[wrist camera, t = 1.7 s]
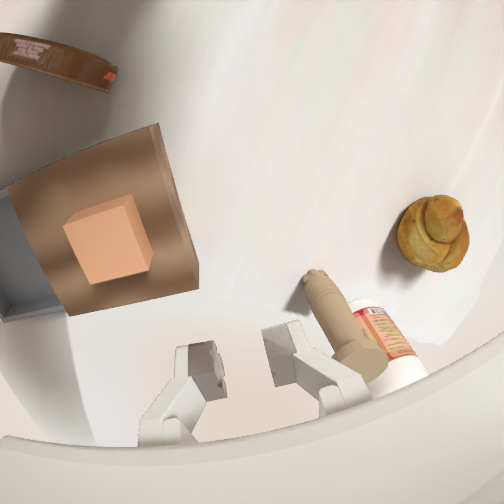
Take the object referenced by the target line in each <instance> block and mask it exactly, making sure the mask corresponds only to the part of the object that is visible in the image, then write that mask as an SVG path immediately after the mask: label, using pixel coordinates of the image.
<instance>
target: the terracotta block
mask: <svg viewBox="0 0 504 504" xmlns="http://www.w3.org/2000/svg"><path fill="white" fill-rule="evenodd" d="M63 228H64V231H65V233H66V235H67V237H68V240H69V242H70V244H71V246H72V248H73V251H74V253H75V255H76V257H77V259H78V261H79V263H80V265H81V267H82V269H83V271H84V273H85V275H86V277H87V279H88V281H89V283H90V285H91V284H96V283H100V282H104V281H108V280H112V279H116V278H120V277H124V276H128V275H132V274H136V273H140V272H144V271H149V268H150V264H151V260H152V257H153V250H152V248H151V245H150V243H149V240H148V237H147V235H146V232H145V229H144V226H143V224H142V221H141V218H140V215H139V212H138V209H137V207H136V204H135V201H134V198H133V195H132V194H129V195H125V196H122V197H119V198H116V199H113V200H110V201H107V202H104V203H101V204H98V205H95V206H92V207H89V208H86V209H84V210H81V211H78V212H75V213H74V214H73V215H72V216H71V217H70V219H69V220H68V221H67V222H66V223H65V224H64V225H63Z"/></svg>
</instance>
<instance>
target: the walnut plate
mask: <svg viewBox="0 0 504 504" xmlns="http://www.w3.org/2000/svg"><path fill="white" fill-rule="evenodd" d="M7 190H8V193H9V196H10V198H11V201H12V204H13V206H14V209H15V211H16V214H17V216H18V219H19V221H20V223H21V226H22V228H23V230H24V233H25V235H26V237H27V239H28V241H29V244H30V246H31V248H32V250H33V252H34V254H35V256H36V258H37V260H38V262H39V264H40V266H41V268H42V270H43V272H44V274H45V275H46V277H47V279H48V281H49V283H50V285H51V286H52V288H53V290H54V292H55V293H56V295H57V297H58V299H59V300H60V302H61V304H62V305H63V307H64V309H65V310H66V312H67V313H68V315H69V316H75V315H80V314H85V313H89V312H94V311H99V310H104V309H109V308H114V307H119V306H123V305H128V304H133V303H137V302H142V301H147V300H151V299H156V298H160V297H165V296H169V295H173V294H178V293H182V292H187V291H192V290H196V289H199V261H198V258H197V255H196V252H195V249H194V246H193V243H192V239H191V236H190V233H189V230H188V227H187V223H186V220H185V217H184V213H183V210H182V207H181V203H180V200H179V197H178V193H177V190H176V186H175V183H174V179H173V176H172V172H171V168H170V165H169V161H168V157H167V154H166V150H165V146H164V142H163V139H162V135H161V131H160V127H159V123H157V124H154V125H150V126H147V127H144V128H141V129H138V130H135V131H132V132H129V133H126V134H123V135H120V136H118V137H115V138H112V139H109V140H107V141H104V142H101V143H99V144H96V145H94V146H91V147H89V148H86V149H84V150H81V151H79V152H77V153H74V154H72V155H70V156H67V157H65V158H63V159H61V160H59V161H56V162H54V163H52V164H50V165H48V166H46V167H44V168H42V169H40V170H38V171H36V172H34V173H32V174H30V175H28V176H26V177H24V178H23V179H21V180H19V181H18V182H16V183H14V184H13V185H11V186H9V187H8V188H7ZM129 194H132V195H133V198H134V201H135V204H136V207H137V209H138V212H139V215H140V218H141V221H142V224H143V226H144V229H145V232H146V235H147V237H148V240H149V243H150V245H151V248H152V250H153V257H152V260H151V264H150V268H149V271H144V272H140V273H136V274H132V275H128V276H124V277H120V278H116V279H112V280H108V281H104V282H100V283H96V284H91V285H90V283H89V281H88V279H87V277H86V275H85V273H84V271H83V269H82V267H81V265H80V263H79V261H78V259H77V257H76V255H75V253H74V251H73V248H72V246H71V244H70V242H69V240H68V237H67V235H66V233H65V231H64V228H63V225H64V224H65V223H66V222H67V221H68V220H69V219H70V217H71V216H72V215H73V214H74V213H75V212H78V211H81V210H84V209H86V208H89V207H92V206H95V205H98V204H101V203H104V202H107V201H110V200H113V199H116V198H119V197H122V196H125V195H129Z"/></svg>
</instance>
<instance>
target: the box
mask: <svg viewBox="0 0 504 504" xmlns="http://www.w3.org/2000/svg"><path fill="white" fill-rule="evenodd" d="M22 179H23V178H22ZM20 180H21V179H20ZM18 181H19V180H18ZM18 181H16V182H18ZM16 182H15V183H16ZM13 184H14V183H13ZM13 184H11V185H13ZM11 185H9V186H11ZM9 186H7V187H6V188H4V189H2V190H0V318H1V319H2V321H3V322H4V323H5V322H10V321H15V320H20V319H25V318H30V317H34V316H39V315H44V314H49V313H54V312H59V311H63V310H65V309H64V307H63V305H62V304H61V302H60V300H59V299H58V297H57V295H56V293H55V292H54V290H53V288H52V286H51V285H50V283H49V281H48V279H47V277H46V275H45V274H44V272H43V270H42V268H41V266H40V264H39V262H38V260H37V258H36V256H35V254H34V252H33V250H32V248H31V246H30V244H29V241H28V239H27V237H26V235H25V233H24V230H23V228H22V226H21V223H20V221H19V219H18V216H17V214H16V211H15V209H14V206H13V204H12V201H11V198H10V196H9V193H8V190H7V188H8V187H9Z"/></svg>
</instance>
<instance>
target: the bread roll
mask: <svg viewBox="0 0 504 504" xmlns="http://www.w3.org/2000/svg"><path fill="white" fill-rule="evenodd" d="M397 239H398V244H399V248H400V251H401V253H402V254H403V256H404V257H405V258H406V259H407V260H408V261H409V262H411V263H413V264H415V265H416V266H422V267H424V268H426V269H428V270H430V271H433V272H442V273H443V272H446V271H448V270H451V269H453V268H456V267H457V266H458V265H459V264H460V263H461V261H462V260H463V258H464V256H465V254H466V252H467V250H468V246H469V233H468V228H467V225H466V222H465V219H464V218H463V210H462V207H461V205H460V203H459V202H458V201H457V200H456V199H454V198H451V197H449V196H446V195H436V196H433V197H424V198H421V199H419V200H417V201H416V202H414V203H413V204H412V205H411V206H410V207H409V208H408V210H407V211H406V212H405V214H404V216H403V217H402V220H401V222H400V225H399V228H398V232H397Z"/></svg>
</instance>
